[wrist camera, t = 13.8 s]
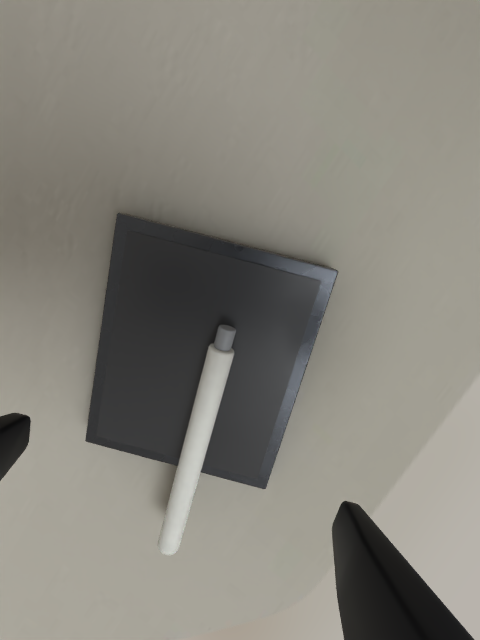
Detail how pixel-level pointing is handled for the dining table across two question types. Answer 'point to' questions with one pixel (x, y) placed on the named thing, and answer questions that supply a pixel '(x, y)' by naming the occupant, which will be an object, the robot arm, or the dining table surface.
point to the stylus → (197, 438)
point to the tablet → (202, 345)
